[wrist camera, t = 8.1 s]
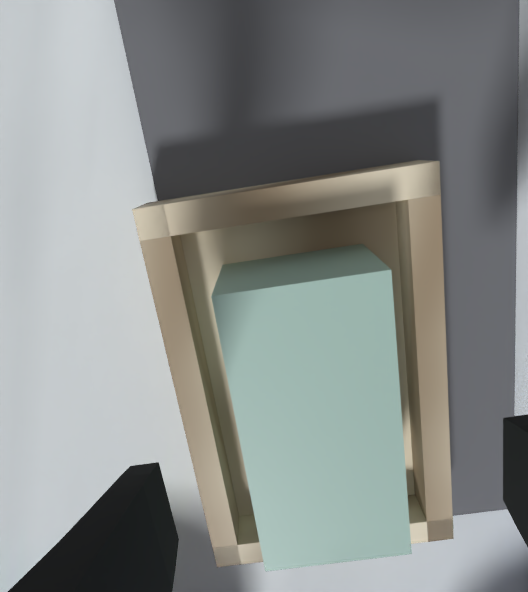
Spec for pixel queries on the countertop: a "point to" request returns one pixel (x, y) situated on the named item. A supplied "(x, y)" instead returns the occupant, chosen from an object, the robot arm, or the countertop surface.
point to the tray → (291, 240)
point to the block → (317, 403)
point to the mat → (359, 147)
